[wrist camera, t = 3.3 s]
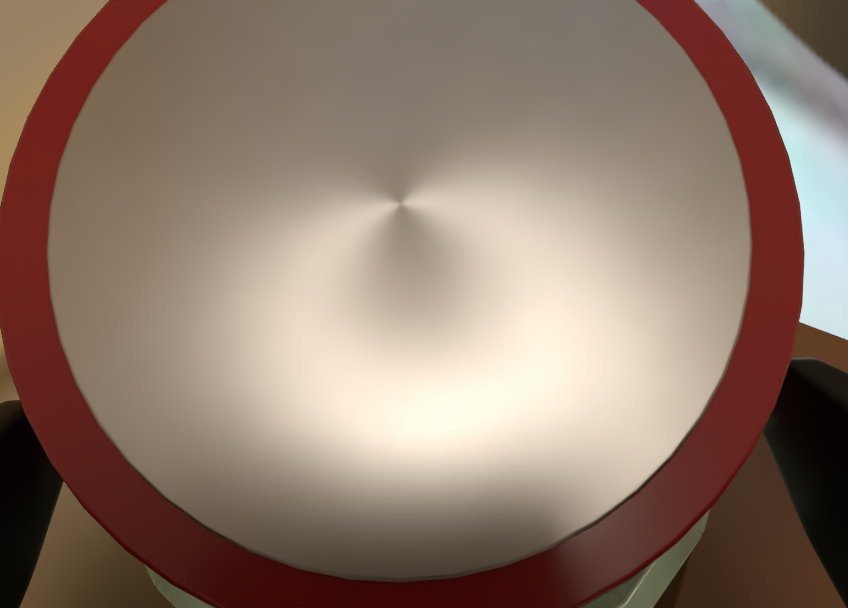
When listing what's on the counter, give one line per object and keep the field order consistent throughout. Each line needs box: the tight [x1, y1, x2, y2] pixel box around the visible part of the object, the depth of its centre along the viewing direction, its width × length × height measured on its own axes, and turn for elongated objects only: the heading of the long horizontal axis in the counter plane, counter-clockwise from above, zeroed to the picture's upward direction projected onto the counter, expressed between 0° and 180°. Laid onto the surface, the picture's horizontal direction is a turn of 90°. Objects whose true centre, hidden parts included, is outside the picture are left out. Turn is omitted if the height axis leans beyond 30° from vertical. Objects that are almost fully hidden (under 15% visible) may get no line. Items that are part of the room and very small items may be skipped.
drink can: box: [0, 0, 804, 608], centre depth 10 cm, size 6×6×12 cm
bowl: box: [144, 510, 710, 608], centre depth 14 cm, size 13×13×4 cm
